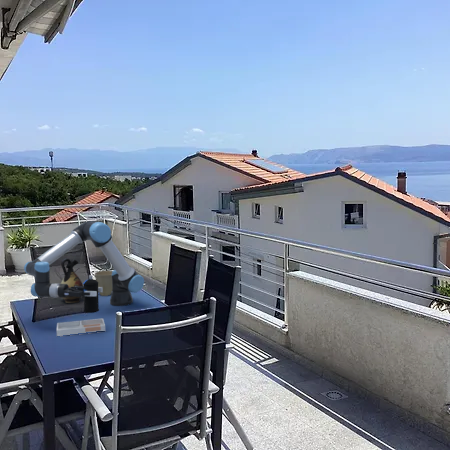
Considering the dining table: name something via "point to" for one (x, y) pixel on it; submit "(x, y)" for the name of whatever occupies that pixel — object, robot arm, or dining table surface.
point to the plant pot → (104, 282)
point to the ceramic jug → (70, 279)
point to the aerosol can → (91, 301)
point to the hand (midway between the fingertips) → (99, 291)
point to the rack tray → (80, 327)
